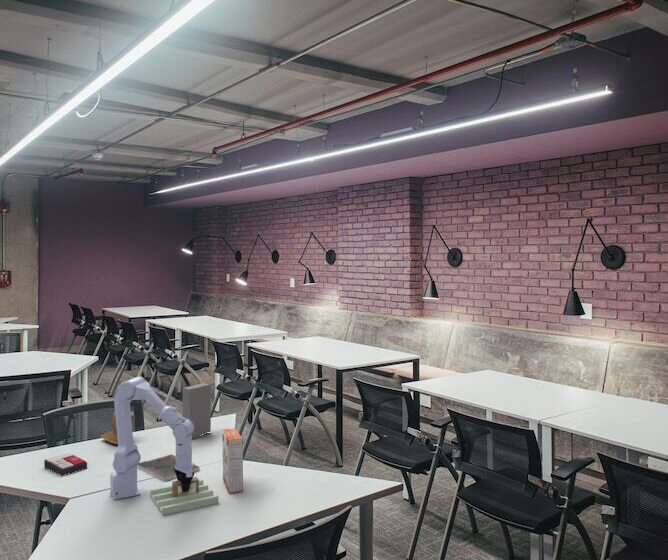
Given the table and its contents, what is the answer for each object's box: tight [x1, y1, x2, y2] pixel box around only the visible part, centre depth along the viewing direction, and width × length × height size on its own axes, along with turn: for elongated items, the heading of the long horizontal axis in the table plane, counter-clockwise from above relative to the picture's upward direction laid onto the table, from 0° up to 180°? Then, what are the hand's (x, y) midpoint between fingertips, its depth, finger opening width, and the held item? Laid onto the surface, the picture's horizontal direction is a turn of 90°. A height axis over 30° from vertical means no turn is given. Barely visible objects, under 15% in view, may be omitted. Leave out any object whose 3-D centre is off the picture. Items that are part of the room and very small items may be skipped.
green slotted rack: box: [149, 479, 219, 516], centre depth 214 cm, size 20×18×2 cm
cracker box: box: [221, 428, 244, 494], centre depth 226 cm, size 14×6×21 cm, turn 20°
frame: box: [171, 476, 200, 498], centre depth 214 cm, size 9×3×6 cm, turn 121°
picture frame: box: [137, 454, 200, 482], centre depth 244 cm, size 16×2×22 cm
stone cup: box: [100, 411, 135, 445], centre depth 279 cm, size 15×12×15 cm
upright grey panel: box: [182, 382, 212, 439], centre depth 288 cm, size 14×6×25 cm, turn 145°
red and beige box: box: [43, 452, 88, 476], centre depth 244 cm, size 11×4×15 cm
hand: (184, 489), depth 214 cm, fingers closed on frame, 3 cm apart
